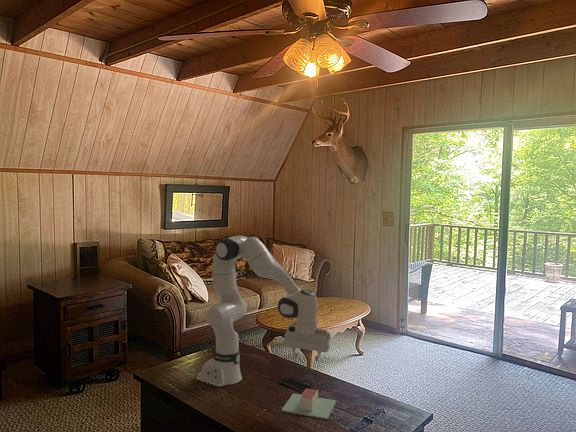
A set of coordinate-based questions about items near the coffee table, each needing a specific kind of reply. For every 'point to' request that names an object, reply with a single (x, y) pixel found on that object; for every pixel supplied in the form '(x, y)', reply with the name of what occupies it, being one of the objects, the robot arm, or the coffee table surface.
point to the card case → (309, 399)
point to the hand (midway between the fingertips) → (306, 358)
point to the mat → (319, 411)
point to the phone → (296, 384)
